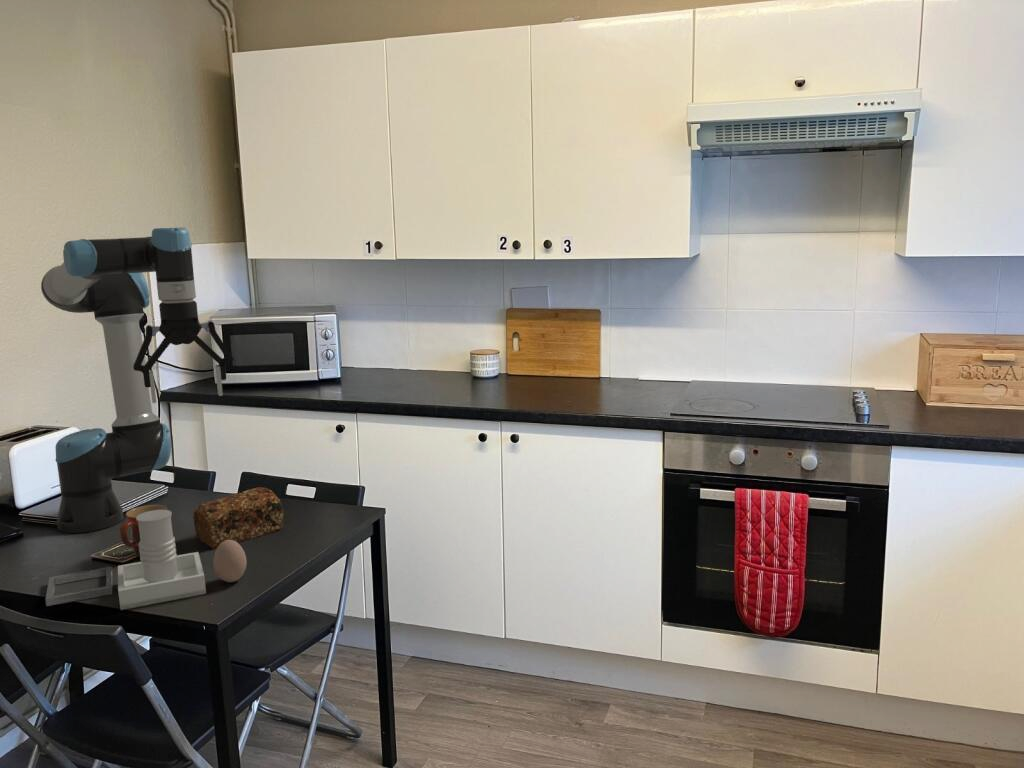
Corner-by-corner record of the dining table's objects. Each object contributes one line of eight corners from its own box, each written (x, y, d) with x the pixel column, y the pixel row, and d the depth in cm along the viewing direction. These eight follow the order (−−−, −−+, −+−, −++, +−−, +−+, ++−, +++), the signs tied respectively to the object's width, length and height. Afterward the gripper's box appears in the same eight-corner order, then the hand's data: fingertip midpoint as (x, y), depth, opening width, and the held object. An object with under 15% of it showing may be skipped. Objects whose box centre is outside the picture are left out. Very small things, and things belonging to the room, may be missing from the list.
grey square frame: (50, 583, 183) (49, 577, 183) (112, 573, 188) (111, 566, 188) (46, 606, 173) (45, 599, 172) (112, 594, 177) (111, 587, 177)
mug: (150, 544, 204) (145, 503, 202) (180, 548, 201) (175, 506, 199) (110, 563, 193) (105, 520, 191) (140, 568, 190) (135, 524, 188)
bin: (120, 583, 182) (117, 565, 182) (200, 569, 189) (198, 551, 188) (120, 610, 170) (118, 591, 169) (206, 593, 176) (204, 575, 175)
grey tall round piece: (144, 580, 181) (136, 512, 178) (180, 575, 183) (172, 507, 180) (142, 593, 175) (134, 523, 172) (179, 587, 177) (171, 518, 174)
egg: (254, 576, 184) (250, 536, 182) (235, 589, 178) (231, 547, 176) (228, 573, 186) (224, 533, 184) (208, 585, 180) (204, 544, 178)
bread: (266, 520, 219) (263, 482, 217) (286, 530, 211) (283, 491, 209) (193, 539, 207) (189, 499, 205) (212, 551, 199) (207, 510, 197)
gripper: (113, 306, 176) (125, 408, 180) (240, 298, 186) (249, 394, 190) (113, 303, 183) (125, 401, 187) (236, 295, 193) (244, 389, 197)
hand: (187, 398), depth 189 cm, fingers open, 13 cm apart
